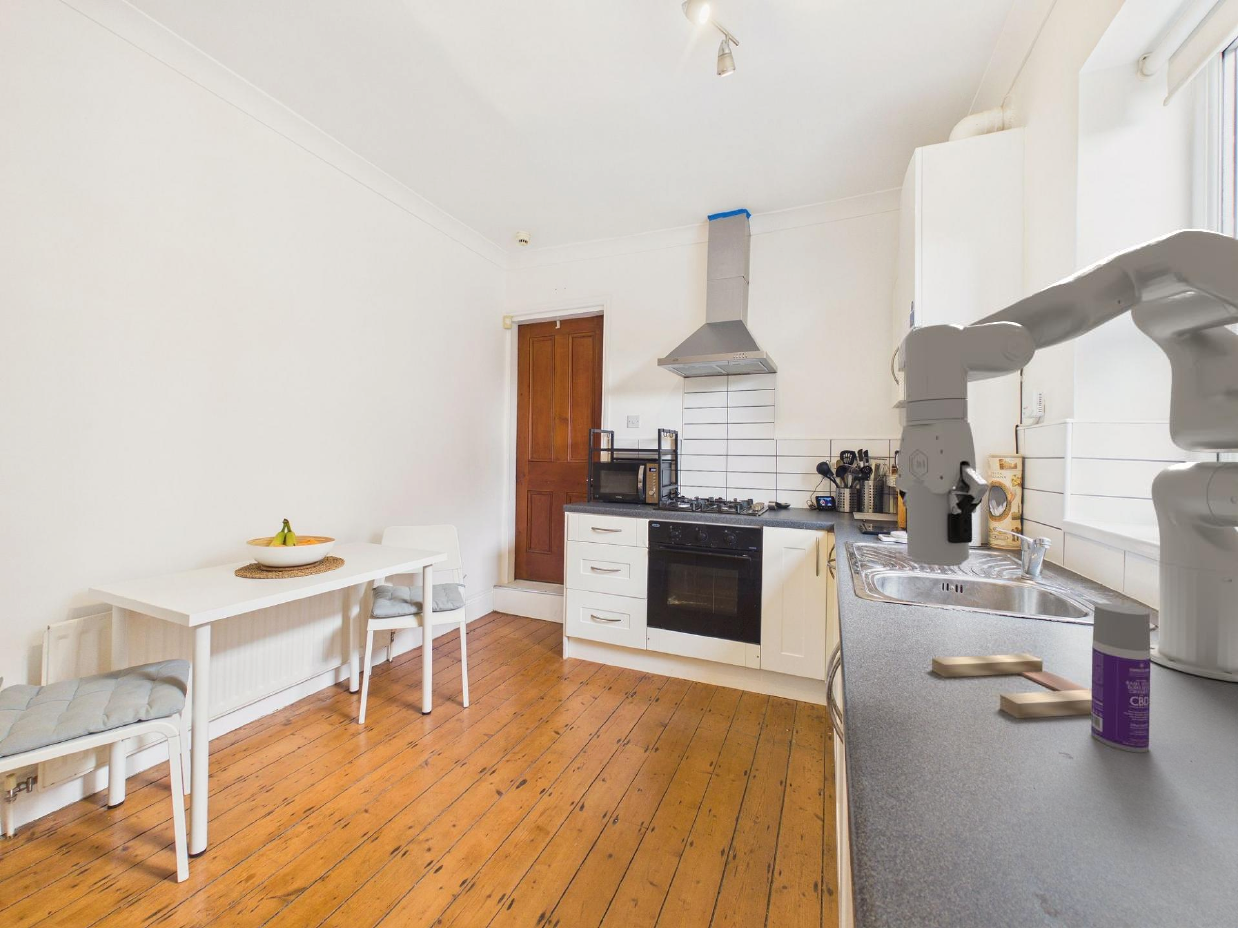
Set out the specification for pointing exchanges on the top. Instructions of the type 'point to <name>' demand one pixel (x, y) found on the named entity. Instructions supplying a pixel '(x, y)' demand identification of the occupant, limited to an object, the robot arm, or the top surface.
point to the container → (1121, 677)
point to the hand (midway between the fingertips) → (937, 537)
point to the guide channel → (1022, 705)
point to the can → (931, 528)
